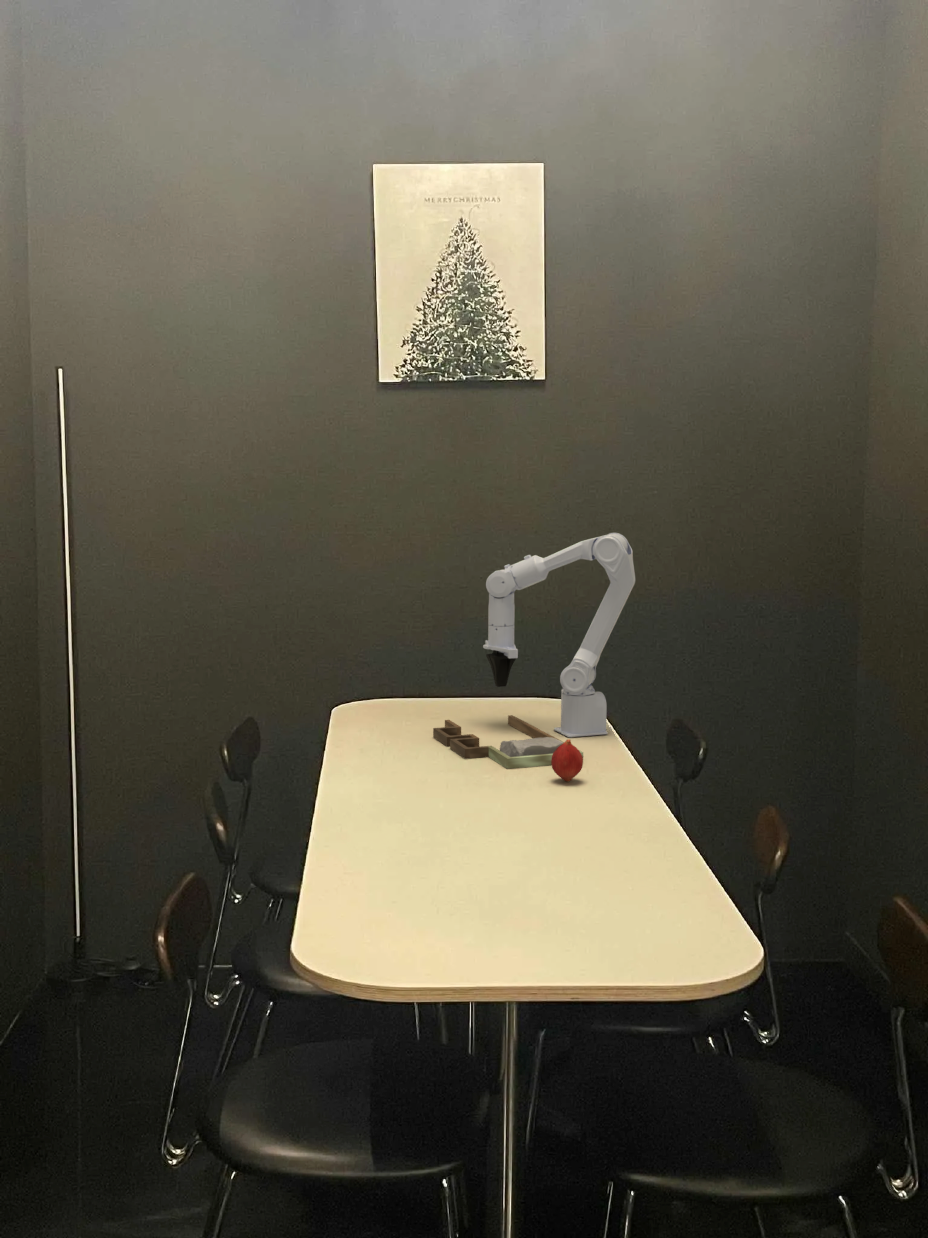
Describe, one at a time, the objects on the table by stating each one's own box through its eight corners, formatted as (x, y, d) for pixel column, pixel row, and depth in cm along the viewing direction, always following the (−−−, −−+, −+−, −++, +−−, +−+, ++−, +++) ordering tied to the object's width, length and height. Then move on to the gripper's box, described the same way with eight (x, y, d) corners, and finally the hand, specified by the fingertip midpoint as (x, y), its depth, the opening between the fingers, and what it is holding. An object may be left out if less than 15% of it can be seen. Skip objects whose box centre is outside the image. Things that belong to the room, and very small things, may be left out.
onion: (545, 783, 220) (546, 740, 219) (558, 776, 226) (559, 734, 224) (575, 787, 218) (576, 743, 217) (587, 779, 223) (588, 737, 222)
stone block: (494, 764, 242) (521, 765, 233) (493, 740, 242) (520, 740, 233) (543, 760, 248) (571, 760, 239) (542, 736, 248) (570, 736, 239)
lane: (512, 724, 270) (512, 715, 270) (583, 762, 236) (583, 752, 236) (423, 730, 263) (423, 721, 263) (482, 771, 229) (482, 760, 229)
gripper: (472, 621, 269) (472, 681, 270) (496, 629, 255) (495, 693, 257) (502, 620, 271) (501, 679, 273) (527, 628, 258) (526, 691, 259)
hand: (500, 686), depth 265 cm, fingers closed
